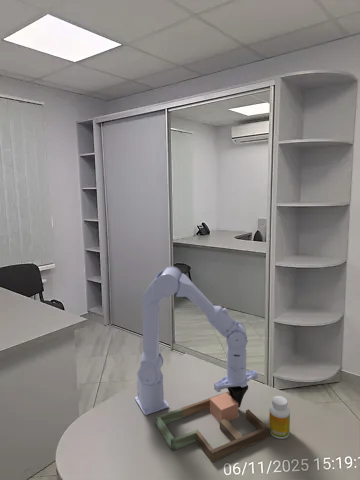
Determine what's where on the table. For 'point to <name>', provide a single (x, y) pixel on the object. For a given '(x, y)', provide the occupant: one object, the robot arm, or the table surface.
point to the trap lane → (231, 433)
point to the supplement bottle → (279, 418)
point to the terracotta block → (223, 407)
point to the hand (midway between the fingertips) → (236, 405)
